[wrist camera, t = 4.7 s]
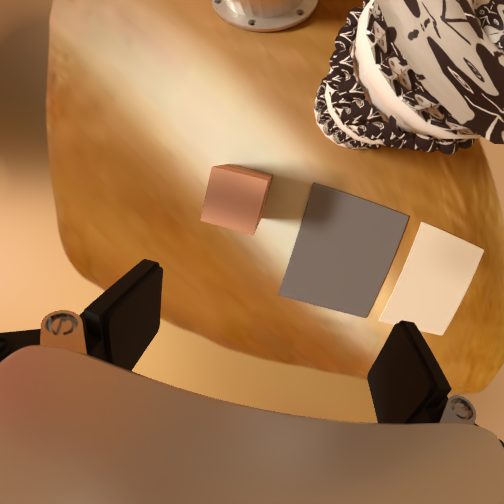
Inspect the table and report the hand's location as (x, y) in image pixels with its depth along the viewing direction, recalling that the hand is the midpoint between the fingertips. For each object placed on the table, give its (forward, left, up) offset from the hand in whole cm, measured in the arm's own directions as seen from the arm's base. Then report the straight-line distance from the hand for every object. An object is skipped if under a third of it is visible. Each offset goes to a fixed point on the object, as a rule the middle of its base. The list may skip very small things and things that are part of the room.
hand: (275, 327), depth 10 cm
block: (-1, -5, -22) cm, 23 cm away
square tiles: (+3, +15, -22) cm, 27 cm away
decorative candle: (-13, +4, -23) cm, 26 cm away
